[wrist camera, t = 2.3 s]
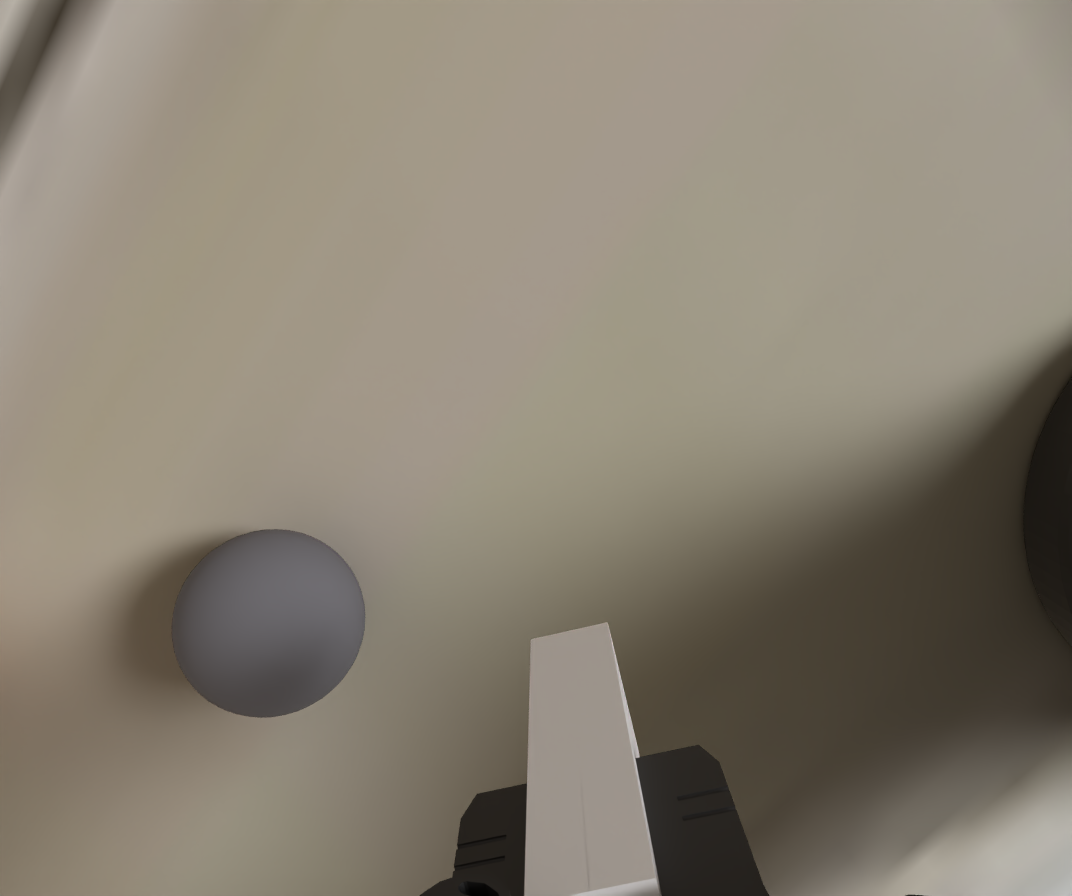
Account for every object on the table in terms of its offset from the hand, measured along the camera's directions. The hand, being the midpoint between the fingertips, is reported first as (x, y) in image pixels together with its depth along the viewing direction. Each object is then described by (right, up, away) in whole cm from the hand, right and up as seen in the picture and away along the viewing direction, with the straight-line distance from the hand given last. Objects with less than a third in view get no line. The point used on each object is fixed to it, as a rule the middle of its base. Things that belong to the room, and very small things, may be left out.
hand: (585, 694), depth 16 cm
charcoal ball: (-9, -1, +9) cm, 13 cm away
